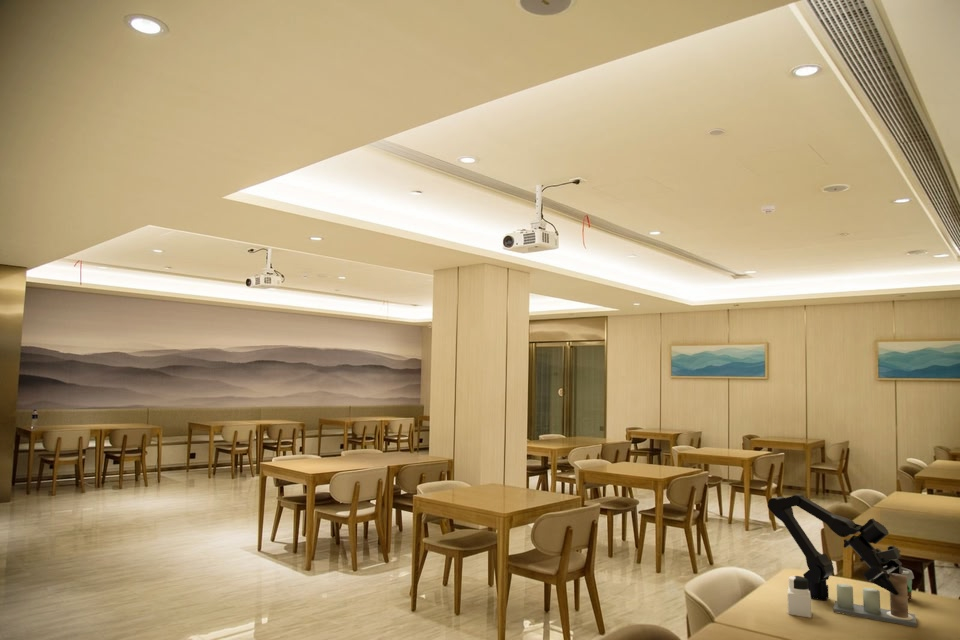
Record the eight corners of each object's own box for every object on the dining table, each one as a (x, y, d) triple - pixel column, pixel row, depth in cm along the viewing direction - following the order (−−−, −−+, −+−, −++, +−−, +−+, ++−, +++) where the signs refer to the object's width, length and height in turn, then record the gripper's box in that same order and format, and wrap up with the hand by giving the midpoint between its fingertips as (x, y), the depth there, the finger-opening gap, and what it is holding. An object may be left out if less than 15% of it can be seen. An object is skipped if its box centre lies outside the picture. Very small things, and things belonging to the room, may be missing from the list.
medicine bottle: (810, 611, 221) (809, 576, 222) (811, 618, 215) (810, 581, 216) (787, 608, 224) (786, 573, 225) (788, 614, 218) (787, 578, 219)
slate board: (833, 612, 221) (833, 607, 221) (834, 604, 230) (834, 600, 230) (916, 626, 209) (916, 622, 209) (915, 617, 217) (914, 613, 217)
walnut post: (888, 614, 216) (886, 574, 217) (894, 611, 219) (893, 572, 220) (904, 618, 212) (903, 578, 213) (910, 616, 215) (909, 576, 216)
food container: (921, 603, 233) (920, 575, 234) (902, 601, 234) (901, 573, 235) (906, 592, 245) (904, 566, 246) (888, 591, 246) (887, 564, 247)
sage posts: (837, 607, 223) (836, 586, 224) (837, 603, 227) (836, 582, 228) (880, 614, 216) (879, 593, 217) (880, 610, 220) (879, 589, 221)
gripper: (872, 541, 215) (911, 583, 205) (894, 534, 227) (931, 574, 217) (848, 560, 221) (885, 602, 211) (870, 552, 232) (906, 592, 222)
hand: (903, 592), depth 215 cm, fingers open, 9 cm apart
